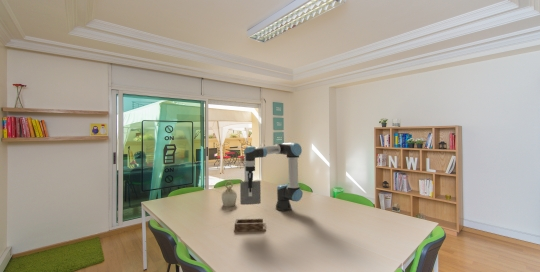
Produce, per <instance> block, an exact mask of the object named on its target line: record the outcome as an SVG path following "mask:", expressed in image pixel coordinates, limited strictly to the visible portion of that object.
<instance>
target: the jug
mask: <svg viewBox="0 0 540 272" xmlns="http://www.w3.org/2000/svg"><path fill="white" fill-rule="evenodd" d="M227 184H230V185H229V186H228V185H227ZM224 186H225V188H226V189H225V190H224V191H223V192H222V193H221V200H222V201H221V202H222V206H223V207H226V208H230V207H234V206H236V203H237V199H238V198H237V197H238V195H237V192H236V190H234V189H233V186H234V184H233V182H232V181H231V180H228V181H226V182H225V184H224Z"/></svg>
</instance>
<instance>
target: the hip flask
mask: <svg viewBox="0 0 540 272" xmlns="http://www.w3.org/2000/svg"><path fill="white" fill-rule="evenodd" d="M239 184H240V185H239V189H240V203H239V204H240V205H259V204H261V199H262V198H261V197H262V196H261V181H260V180H254V179H252V196H249V188H248V180H244V181H240V183H239Z"/></svg>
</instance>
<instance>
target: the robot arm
mask: <svg viewBox="0 0 540 272" xmlns="http://www.w3.org/2000/svg"><path fill="white" fill-rule="evenodd" d="M302 149H303V148H302V146H301V144H299V143H297V142H281V143H275V144H274V145H267V146H266V145H265V146H253V145H249V146H245V148H244V150H243V153H244V154H243V155H244V156H245V161H244V163H245V172H248V173H247V181H248V188H249V196H252V181H253V180H254V179H253V178H254V172H255V171H256V158H264V157H265V158H266V157H267V155H272V154H276V155H286V158H287V159H288V183H287V184H279V185H277V188H276V192H277V193H276V194H277V196H276V197H277V201H276V204H275V209H276V210H277V211H281V212H286V211H287V212H288V211H291V210H292V205H291V201H292V202H296V203H297V202H300V201H301V199H302V198H303V190H302V189H301V187H300V185H299V168H298V167H299V162H298V161H299V160H298V159H299V158H300V156H301V154H302V152H303V150H302ZM252 179H253V180H252Z"/></svg>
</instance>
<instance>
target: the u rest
mask: <svg viewBox="0 0 540 272" xmlns="http://www.w3.org/2000/svg"><path fill="white" fill-rule="evenodd" d="M266 226H267V225H266V222H264V218H236V219H235V222H234V228H233V233H238V232H239V233H240V232H241V233H243V232H244V233H245V232H266Z"/></svg>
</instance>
